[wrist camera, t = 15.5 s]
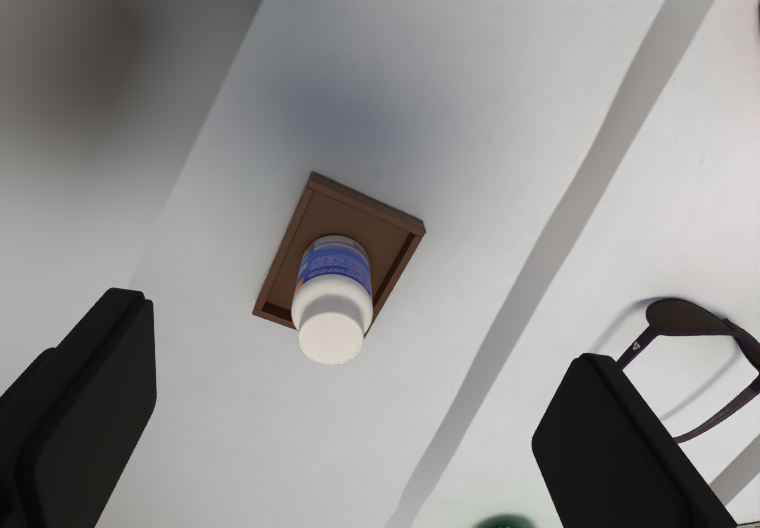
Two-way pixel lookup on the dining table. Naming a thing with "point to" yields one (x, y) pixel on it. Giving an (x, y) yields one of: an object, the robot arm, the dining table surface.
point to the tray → (345, 218)
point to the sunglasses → (696, 321)
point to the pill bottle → (332, 300)
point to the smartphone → (750, 526)
